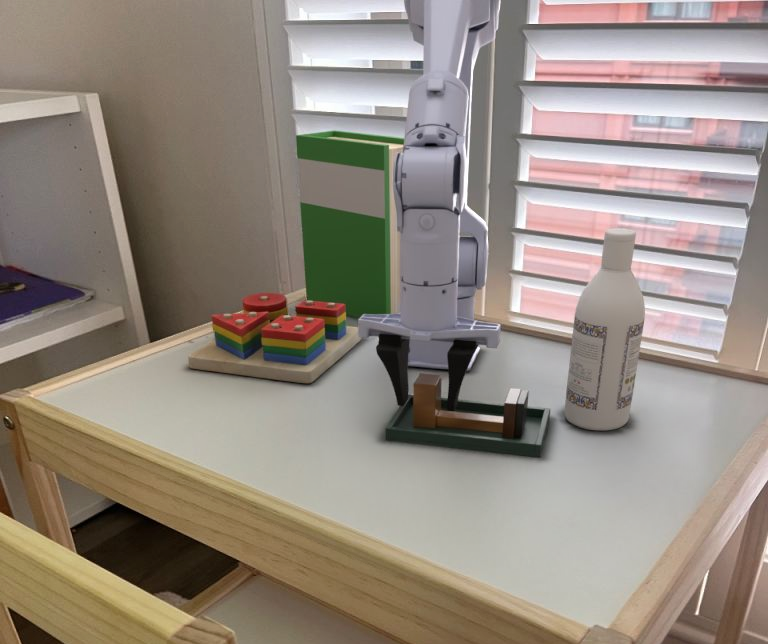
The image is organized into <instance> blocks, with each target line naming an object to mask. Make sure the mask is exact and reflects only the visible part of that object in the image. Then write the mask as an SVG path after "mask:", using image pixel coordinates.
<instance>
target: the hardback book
mask: <svg viewBox="0 0 768 644" xmlns="http://www.w3.org/2000/svg"><path fill="white" fill-rule="evenodd" d="M295 144H296V156H297V157H296V160H297V174H298V176H297V177H298V188H299V189H298V191H299V205H300V222H301V234H302V237H301V238H302V251H303V252H302V253H303V266H304V267H303V268H304V281H305V283H304V284H305V296H306V300H309V301H319V302H330V303H341V304H345V306H346V311H345V312H346V316H350V317H353V318H356V319H359V318H360V317H361V316H362V315H363V314H398V307H399V301H400V232H398V231H397V215H396V206H395V200H394V193H393V169H394V162H395V157H396V154H397V152H399V153H400V154H401V153H403V145H404V137H401V136H390V135H382V134H372V133H362V132H353V131H343V130H336V129H335V130H327V131H319V132H312V133H303V134H296V135H295Z"/></svg>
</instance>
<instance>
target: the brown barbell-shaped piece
mask: <svg viewBox="0 0 768 644" xmlns="http://www.w3.org/2000/svg"><path fill="white" fill-rule="evenodd" d="M442 377H443V375H442V374H435V373H423V372H420V373H419V374H418V376H417V377H416V378H415V380H414V382H413V384H412V385H413V386H412V387H413V388H412V389H413V390H412V391H413V392H412V393H413V394H412V395H413V426H414V427H424V428H433V429H435V427H436V425H437V426H442V427H451V428H461V429H470V430H479V431H489V432H498V433H502V438H506V439H514V436H522V434H523V431H524V427H525V424H526V417H527V406H529V404H528V403H529V392H530V391H529V390H523V389H521V388H513V387H512V388H509V390H508V393H507V396H506V398H505V400H504V403H503V404H504V417H501V416H491V415H481V414H471V413H461V412H451V411H442V410H441V398H442V385H443V384H442V381H443V378H442Z"/></svg>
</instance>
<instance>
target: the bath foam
mask: <svg viewBox="0 0 768 644" xmlns="http://www.w3.org/2000/svg"><path fill="white" fill-rule="evenodd" d="M636 236H637V232H636V231H635V230H634V229H630V228H624V227H613V228H608V229H606V230H605V232H604V238H603V246H602V253H601V263H600V265H601V266H600V268H599V269H598V270H597V272H595V274H594V275H593V277H592V278H591V279H590V280H589V281H588V283H587V284H586V285H585V287H584V288H583V290H582V292H581V294H580V296H579V298H578V302H577V303H576V304H577V305H576V307H575V311H574V317H573V328H572V337H571V344H570V348H571V349H570V354H569V355H570V356H569V365H568V373H567V383H566V392H565V400H564V401H565V402H564V411H563V412H564V416H565V419H566V420H567V421H568V422H569V423H570V424H572V425H574V426H576V427H578V428H580V429H585V430H589V431H600V432H601V431H612V430H616V429H619V428H622V427H623V426H625V425H626V424H627V423H628V421H629V419H630V413H631V407H632V402H633V395H634V389H635V383H636V376H637V371H638V370H637V369H638V365H639V364H638V363H639V357H640V351H641V345H642V338H643V332H644V327H645V326H644V325H645V318H646V317H645V314H646V308H645V307H646V306H645V299H644V295H643V292H642V289H641V287H640V284H639V282H638V280H637V278H636V277H635V275H634V273H633V270H632V263H633V257H634V251H635V243H636Z"/></svg>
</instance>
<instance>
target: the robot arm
mask: <svg viewBox="0 0 768 644" xmlns="http://www.w3.org/2000/svg"><path fill="white" fill-rule="evenodd" d="M403 4H404V10H405V13H406V17H407V20H408V21H407V22H408V26H409V30H410V32H411V33H412V38H413V41H414V42H416V43H417V44H420V45H422V46H423V57H422V58H423V63H422V64H423V65H422V66H423V68H422V69H423V70H422V73H423V75H421V76H420V77H418V78H417V79H415V81H414V82H413V83H412V85H411V87H410V89H409V93H408V101H407V109H406V110H407V112H406V118H405V119H406V120H405V128H404V137H403V138H404V145H403V153H401V154H400V153H399V152H397V154H396V157H395V162H394V169H393V193H394V200H395V206H396V215H397V231H398V232H400V301H399V307H398V314H363V315H362V316H361V317H360V318H357V327H358V337H360V338H363V339H368V338H370V337H376V338H377V337H378V340H377V341H378V342H377V345H376V346H375V351H376V355H377V356H378V358H379V359H380V361H381V363H382V364H383V366H384V368H385V371H386V372H387V374H388V377H389V380H390V382H391V385H392V389H393V391H394V395H395V399H396V405H397V406H398V407H399V406H404V405H405V403H406V402H407V400H408V395H409V393H410V392H409V391H410V390H409V386H410V385H409V367H415V368H427V369H439V370H448V371H447V372H448V388H447V391H448V392H447V397H446V398H447V411H454V410H455V408H456V406H457V403H458V399H459V396H460V393H461V387H462V385H463V381H464V379H465V376H466V372H469V371H470V370H471V368H472V366H473V364H474V363H475V361H476V359H477V356H478V355H479V353H480V350H481V348H480V347H479V346H486V348H488V349H498V347H499V344H500V343H501V329H502V327H501V326H502V324H501V323H496V322H495V323H494V322H486V321H482V320H481V321H480V320H478V319H477V320H476V319H475V309H476V306H475V305H476V293H477V290H482V289H483V288H484V287H485V286H486V284H487V278H488V277H487V276H488V263H489V262H488V260H489V240H488V237H489V227H488V225H487V223H486V221H485V220H484V219H483V218H482V217H481V216H479V215H478V214H477V213H476V212H475V211H473V210H472V209H471V208H470V207H469V206H468V188H469V187H468V185H469V163H470V142H471V141H470V140H471V121H472V102H473V101H472V98H473V79H474V78H473V76H474V68H475V65H476V61H477V58H478V55H479V51H480V49H481V48H482V47H484V46H486V45H488V44H489V43H491V42H493V41H495V40H496V31H498V29H499V21H500V20H499V19H500V9H501V0H403ZM460 233H465V234H469V236H467V235H460ZM470 235H472V236H470Z"/></svg>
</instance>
